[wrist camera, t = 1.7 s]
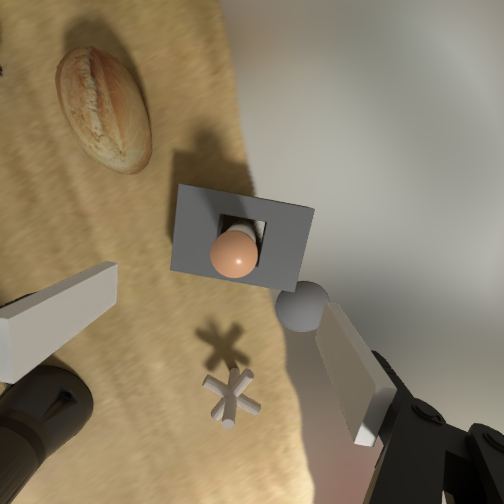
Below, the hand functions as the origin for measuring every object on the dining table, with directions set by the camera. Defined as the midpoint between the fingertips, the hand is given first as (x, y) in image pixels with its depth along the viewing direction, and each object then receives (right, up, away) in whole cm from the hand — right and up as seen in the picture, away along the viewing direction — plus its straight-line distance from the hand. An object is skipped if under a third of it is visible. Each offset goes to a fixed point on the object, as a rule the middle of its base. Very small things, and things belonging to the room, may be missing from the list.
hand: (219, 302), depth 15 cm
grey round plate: (+11, -6, +25) cm, 27 cm away
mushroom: (0, +6, +22) cm, 23 cm away
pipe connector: (-1, -19, +28) cm, 34 cm away
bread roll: (-16, +22, +19) cm, 33 cm away
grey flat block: (0, +6, +22) cm, 23 cm away
